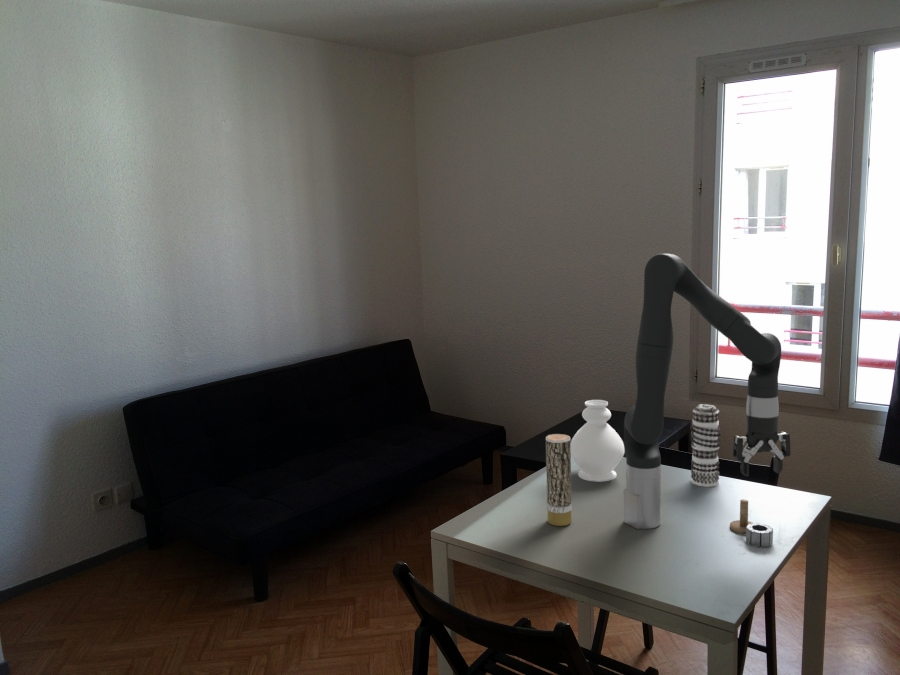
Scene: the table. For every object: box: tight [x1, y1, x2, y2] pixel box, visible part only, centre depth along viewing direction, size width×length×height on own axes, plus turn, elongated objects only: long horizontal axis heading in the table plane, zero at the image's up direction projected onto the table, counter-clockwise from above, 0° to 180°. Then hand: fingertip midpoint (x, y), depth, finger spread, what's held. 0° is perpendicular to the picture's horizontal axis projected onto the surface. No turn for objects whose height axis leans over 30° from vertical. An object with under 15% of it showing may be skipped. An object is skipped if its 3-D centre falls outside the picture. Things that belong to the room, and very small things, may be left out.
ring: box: [745, 522, 774, 549], centre depth 189 cm, size 6×6×4 cm
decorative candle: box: [689, 403, 722, 488], centre depth 231 cm, size 9×9×25 cm
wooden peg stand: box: [729, 499, 753, 535], centre depth 197 cm, size 7×7×8 cm
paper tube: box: [545, 433, 573, 527], centre depth 205 cm, size 7×7×25 cm
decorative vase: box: [570, 399, 625, 483], centre depth 242 cm, size 18×18×25 cm
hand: (761, 473), depth 187 cm, fingers open, 8 cm apart
